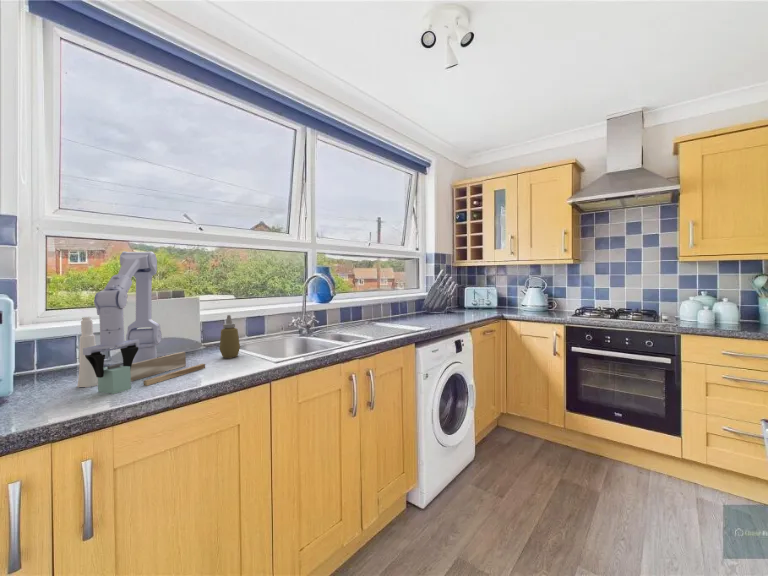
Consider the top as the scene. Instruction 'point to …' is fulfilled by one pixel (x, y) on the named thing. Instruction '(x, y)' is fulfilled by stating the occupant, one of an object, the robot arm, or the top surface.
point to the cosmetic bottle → (85, 368)
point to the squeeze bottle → (229, 339)
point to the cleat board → (161, 368)
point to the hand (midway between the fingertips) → (114, 373)
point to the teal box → (115, 379)
